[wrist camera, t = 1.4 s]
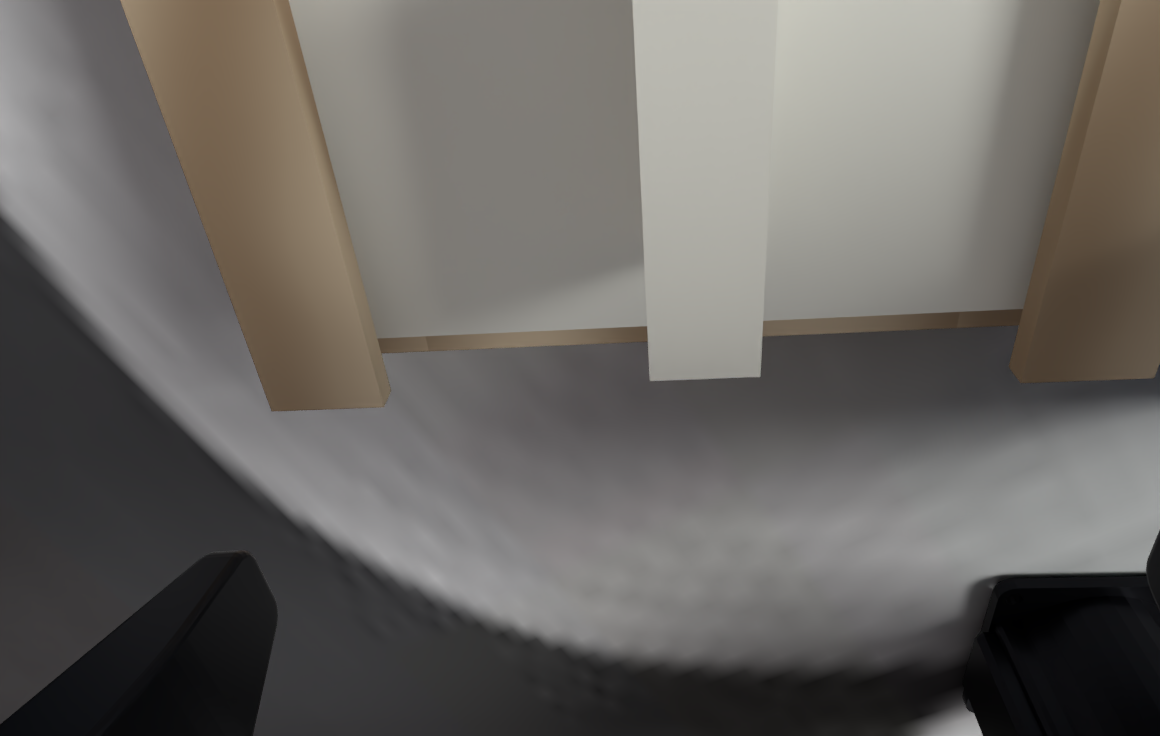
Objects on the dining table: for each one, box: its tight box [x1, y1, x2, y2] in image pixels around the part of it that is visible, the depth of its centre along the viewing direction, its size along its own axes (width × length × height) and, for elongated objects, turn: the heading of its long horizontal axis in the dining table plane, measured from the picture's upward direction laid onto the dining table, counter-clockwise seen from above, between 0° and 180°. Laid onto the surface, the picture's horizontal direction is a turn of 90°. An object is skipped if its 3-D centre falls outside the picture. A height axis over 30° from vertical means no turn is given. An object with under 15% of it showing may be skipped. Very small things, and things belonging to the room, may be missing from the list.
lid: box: [289, 0, 1100, 381], centre depth 12 cm, size 15×10×6 cm, turn 95°
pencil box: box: [120, 0, 1160, 411], centre depth 15 cm, size 18×12×5 cm, turn 95°
